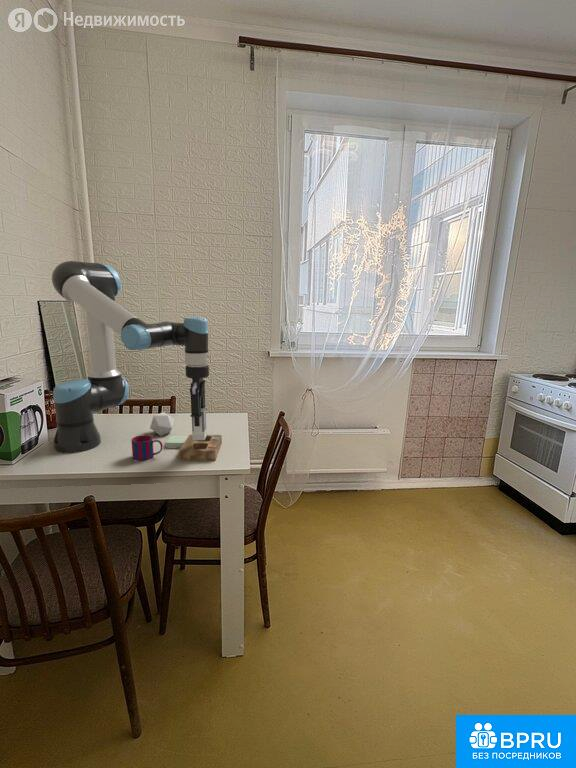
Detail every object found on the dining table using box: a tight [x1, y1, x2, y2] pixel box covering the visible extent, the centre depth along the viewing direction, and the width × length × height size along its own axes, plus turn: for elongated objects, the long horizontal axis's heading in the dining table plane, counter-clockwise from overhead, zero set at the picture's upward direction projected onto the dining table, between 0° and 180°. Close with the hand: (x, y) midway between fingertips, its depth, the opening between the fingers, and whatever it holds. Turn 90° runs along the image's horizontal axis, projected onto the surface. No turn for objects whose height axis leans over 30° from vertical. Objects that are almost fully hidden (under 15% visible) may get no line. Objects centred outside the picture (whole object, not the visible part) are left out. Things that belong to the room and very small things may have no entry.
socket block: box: [179, 434, 223, 461], centre depth 136 cm, size 12×15×4 cm
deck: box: [165, 435, 189, 449], centre depth 142 cm, size 7×7×2 cm
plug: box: [191, 407, 208, 440], centre depth 130 cm, size 4×4×10 cm
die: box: [149, 411, 175, 437], centre depth 152 cm, size 8×9×10 cm
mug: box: [131, 434, 164, 462], centre depth 129 cm, size 7×10×7 cm
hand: (199, 432), depth 131 cm, fingers closed on plug, 4 cm apart
